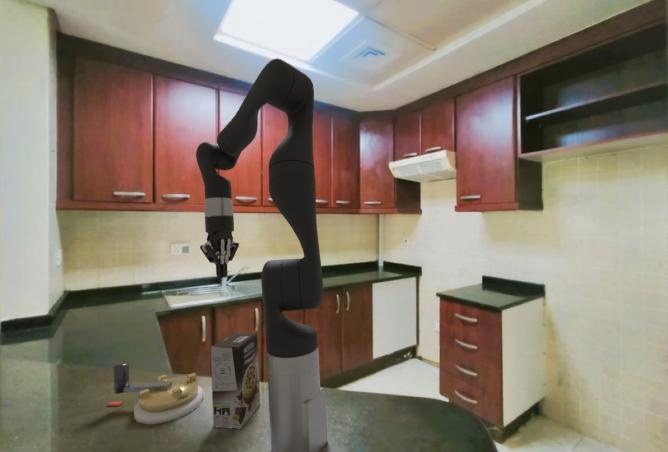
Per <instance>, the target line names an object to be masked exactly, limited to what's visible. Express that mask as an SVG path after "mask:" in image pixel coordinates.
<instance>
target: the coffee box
mask: <svg viewBox="0 0 668 452" xmlns="http://www.w3.org/2000/svg"><path fill="white" fill-rule="evenodd" d="M258 348H259V347H258V333H257V332H253V333H252V332H244V333H243V332H242V333H231V334H230V335H228V336H227V337H224V338H223V339H222V340H219V341H218V342H216V343H215V344H213V345H212V346H210V362H211V363H210V364H211V365H210V366H211V371H210V372H211V390H212V391H211V394H212V396H211V397H212V427H214V428H216V427H215V426H218V427H217V428H221V427H232V428H241V429H242V428H243V427H244V426H245V424H246V423H247V422H248V421H249V419H251V417H252V416H253V415H254V413H255V412H256V411H257V409H258V408H259V407H260V406H261V393H260V391H261V390H260V388H261V387H260V372H259V371H260V368H259V349H258ZM243 425H244V426H243ZM242 426H243V427H242ZM232 428H231V429H232Z"/></svg>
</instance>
